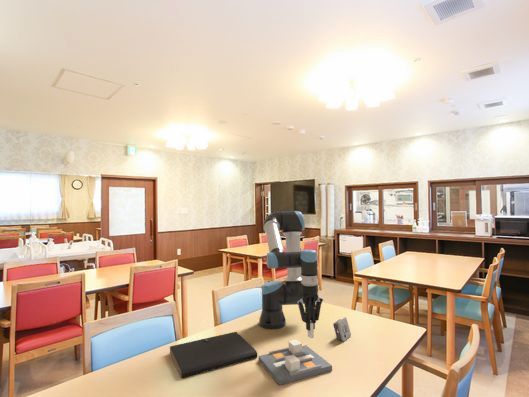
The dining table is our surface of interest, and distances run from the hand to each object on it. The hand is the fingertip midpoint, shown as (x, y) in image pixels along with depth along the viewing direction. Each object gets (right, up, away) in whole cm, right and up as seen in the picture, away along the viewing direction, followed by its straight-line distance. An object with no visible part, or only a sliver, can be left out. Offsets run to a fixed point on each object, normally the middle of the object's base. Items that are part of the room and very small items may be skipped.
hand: (310, 336), depth 137 cm
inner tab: (-7, -5, -3) cm, 9 cm away
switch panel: (-8, -7, -10) cm, 15 cm away
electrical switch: (+18, -8, +16) cm, 26 cm away
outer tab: (-10, -5, -17) cm, 20 cm away
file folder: (-44, -9, -1) cm, 45 cm away
